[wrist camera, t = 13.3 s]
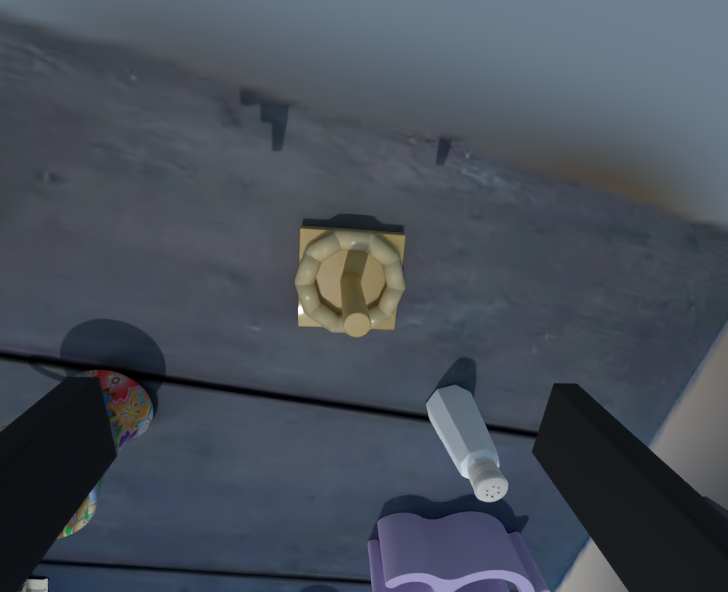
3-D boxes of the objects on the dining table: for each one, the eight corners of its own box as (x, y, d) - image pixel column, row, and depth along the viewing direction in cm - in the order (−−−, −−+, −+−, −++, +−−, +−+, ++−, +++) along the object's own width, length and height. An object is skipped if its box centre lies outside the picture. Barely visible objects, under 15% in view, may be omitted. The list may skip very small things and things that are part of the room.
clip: (357, 564, 46) (361, 629, 39) (389, 496, 42) (399, 556, 36) (489, 581, 50) (513, 643, 43) (529, 520, 46) (562, 578, 39)
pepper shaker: (441, 432, 39) (480, 525, 29) (415, 402, 38) (447, 489, 27) (481, 406, 39) (536, 493, 28) (457, 374, 37) (506, 454, 27)
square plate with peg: (301, 225, 30) (286, 252, 20) (402, 232, 31) (435, 261, 21) (299, 319, 33) (285, 383, 23) (391, 323, 34) (416, 385, 24)
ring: (296, 225, 29) (294, 228, 27) (409, 233, 30) (413, 236, 28) (294, 326, 32) (292, 334, 30) (397, 330, 33) (400, 337, 31)
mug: (164, 369, 34) (94, 453, 24) (159, 444, 37) (95, 547, 27) (25, 348, 32) (-114, 430, 22) (32, 429, 35) (-89, 533, 25)
